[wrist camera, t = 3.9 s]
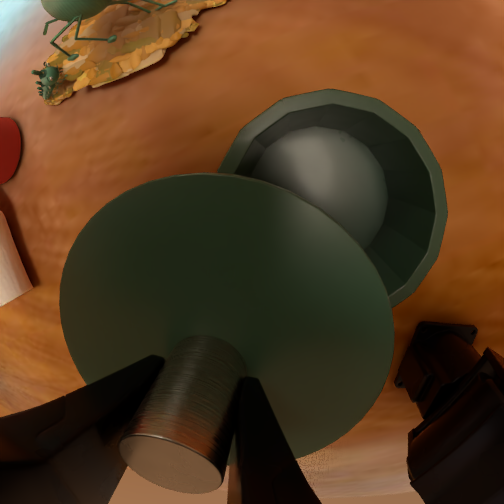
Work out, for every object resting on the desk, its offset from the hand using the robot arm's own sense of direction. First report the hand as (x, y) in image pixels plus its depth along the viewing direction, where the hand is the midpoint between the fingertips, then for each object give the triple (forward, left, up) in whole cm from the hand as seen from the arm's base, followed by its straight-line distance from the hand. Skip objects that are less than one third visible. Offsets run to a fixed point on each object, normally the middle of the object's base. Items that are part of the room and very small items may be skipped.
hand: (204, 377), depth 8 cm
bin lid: (0, 0, -1) cm, 1 cm away
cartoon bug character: (+12, -16, -13) cm, 24 cm away
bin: (-4, -4, -13) cm, 14 cm away
